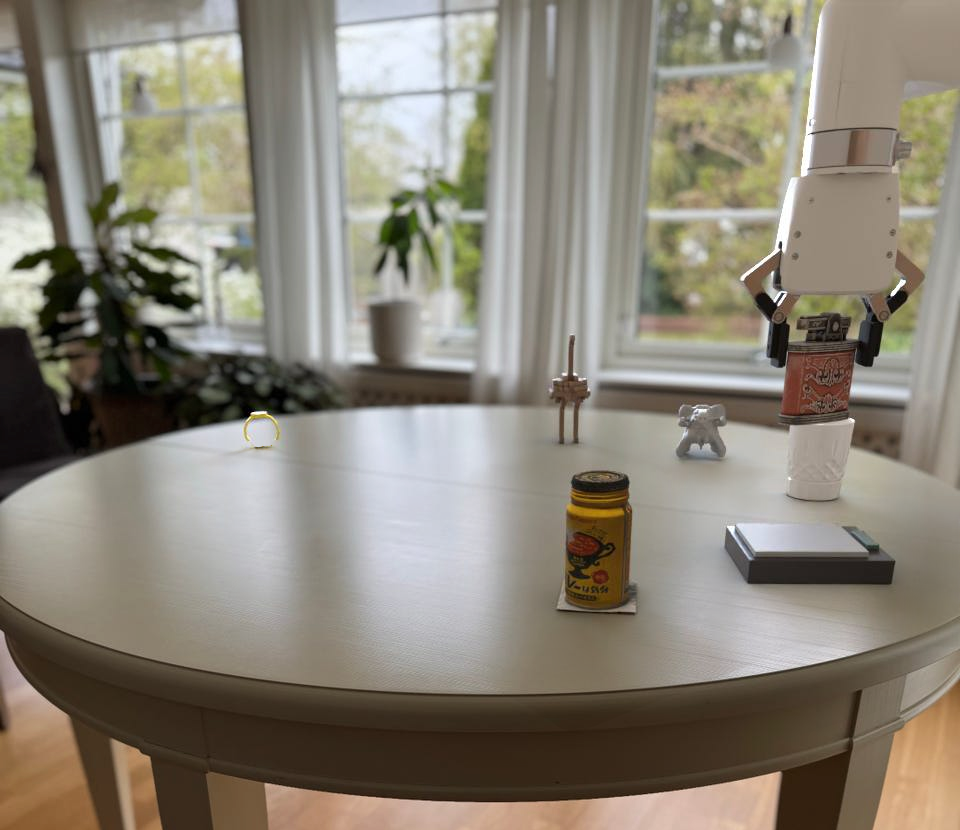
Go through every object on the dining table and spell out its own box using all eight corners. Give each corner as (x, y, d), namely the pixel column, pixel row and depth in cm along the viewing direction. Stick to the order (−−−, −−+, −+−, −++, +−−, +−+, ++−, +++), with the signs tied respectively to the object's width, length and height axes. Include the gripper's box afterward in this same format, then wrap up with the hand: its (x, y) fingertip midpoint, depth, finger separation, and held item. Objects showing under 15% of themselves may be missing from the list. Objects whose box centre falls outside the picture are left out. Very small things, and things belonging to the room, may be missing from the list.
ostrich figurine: (589, 445, 152) (593, 335, 144) (550, 446, 152) (552, 335, 144) (578, 427, 167) (581, 327, 160) (542, 428, 167) (543, 327, 160)
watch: (281, 444, 157) (277, 410, 155) (281, 447, 155) (277, 412, 152) (246, 446, 156) (242, 412, 154) (246, 449, 154) (241, 414, 151)
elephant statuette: (681, 462, 138) (684, 412, 135) (658, 447, 149) (661, 400, 146) (738, 460, 139) (743, 410, 136) (711, 445, 150) (715, 399, 147)
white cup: (837, 505, 114) (849, 426, 110) (775, 498, 118) (784, 422, 114) (848, 491, 120) (859, 416, 116) (788, 485, 124) (797, 412, 120)
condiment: (556, 611, 82) (558, 483, 77) (564, 580, 90) (566, 462, 85) (635, 614, 81) (643, 485, 76) (636, 583, 88) (643, 464, 84)
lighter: (830, 414, 90) (845, 310, 86) (856, 419, 87) (872, 311, 83) (769, 421, 87) (781, 313, 83) (794, 427, 84) (807, 315, 80)
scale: (852, 546, 98) (856, 520, 97) (891, 584, 87) (896, 555, 86) (724, 546, 99) (726, 520, 98) (747, 583, 88) (750, 554, 87)
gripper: (932, 159, 81) (898, 360, 88) (738, 164, 82) (721, 362, 89) (968, 151, 74) (928, 369, 81) (756, 156, 75) (736, 371, 82)
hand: (820, 364), depth 85 cm, fingers closed on lighter, 7 cm apart
